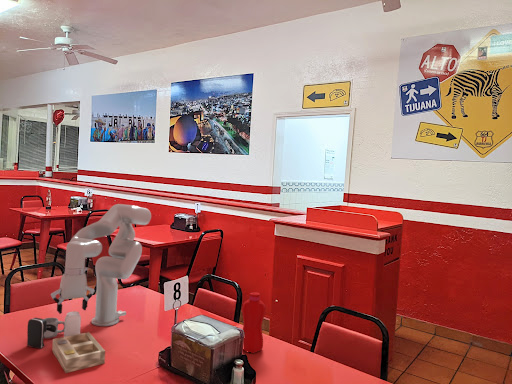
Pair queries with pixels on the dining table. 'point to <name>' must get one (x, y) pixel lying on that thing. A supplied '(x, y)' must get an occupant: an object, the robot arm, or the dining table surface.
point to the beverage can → (72, 324)
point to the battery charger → (36, 332)
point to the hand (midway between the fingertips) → (72, 311)
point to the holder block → (78, 352)
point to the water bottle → (253, 323)
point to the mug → (53, 327)
